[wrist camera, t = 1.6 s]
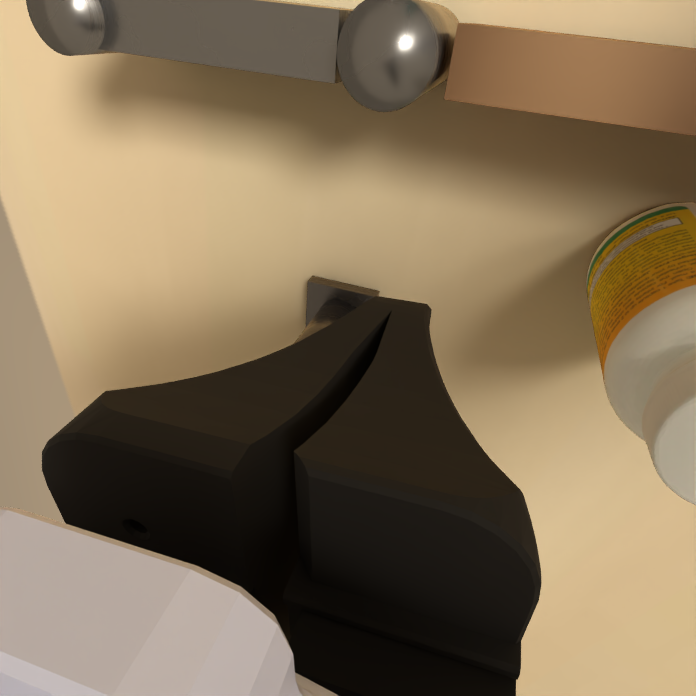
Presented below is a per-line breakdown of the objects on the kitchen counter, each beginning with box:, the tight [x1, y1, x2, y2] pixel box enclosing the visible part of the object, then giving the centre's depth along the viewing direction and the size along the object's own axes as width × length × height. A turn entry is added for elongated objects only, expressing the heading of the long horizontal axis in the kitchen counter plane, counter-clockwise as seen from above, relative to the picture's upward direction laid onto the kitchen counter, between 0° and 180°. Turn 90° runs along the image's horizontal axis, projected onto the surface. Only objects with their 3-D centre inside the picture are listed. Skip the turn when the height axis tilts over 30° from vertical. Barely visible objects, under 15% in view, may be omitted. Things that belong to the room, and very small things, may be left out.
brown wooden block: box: [444, 23, 696, 136], centre depth 12 cm, size 12×2×6 cm, turn 85°
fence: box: [26, 0, 459, 112], centre depth 15 cm, size 12×2×6 cm, turn 85°
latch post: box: [294, 276, 380, 344], centre depth 21 cm, size 3×3×6 cm
